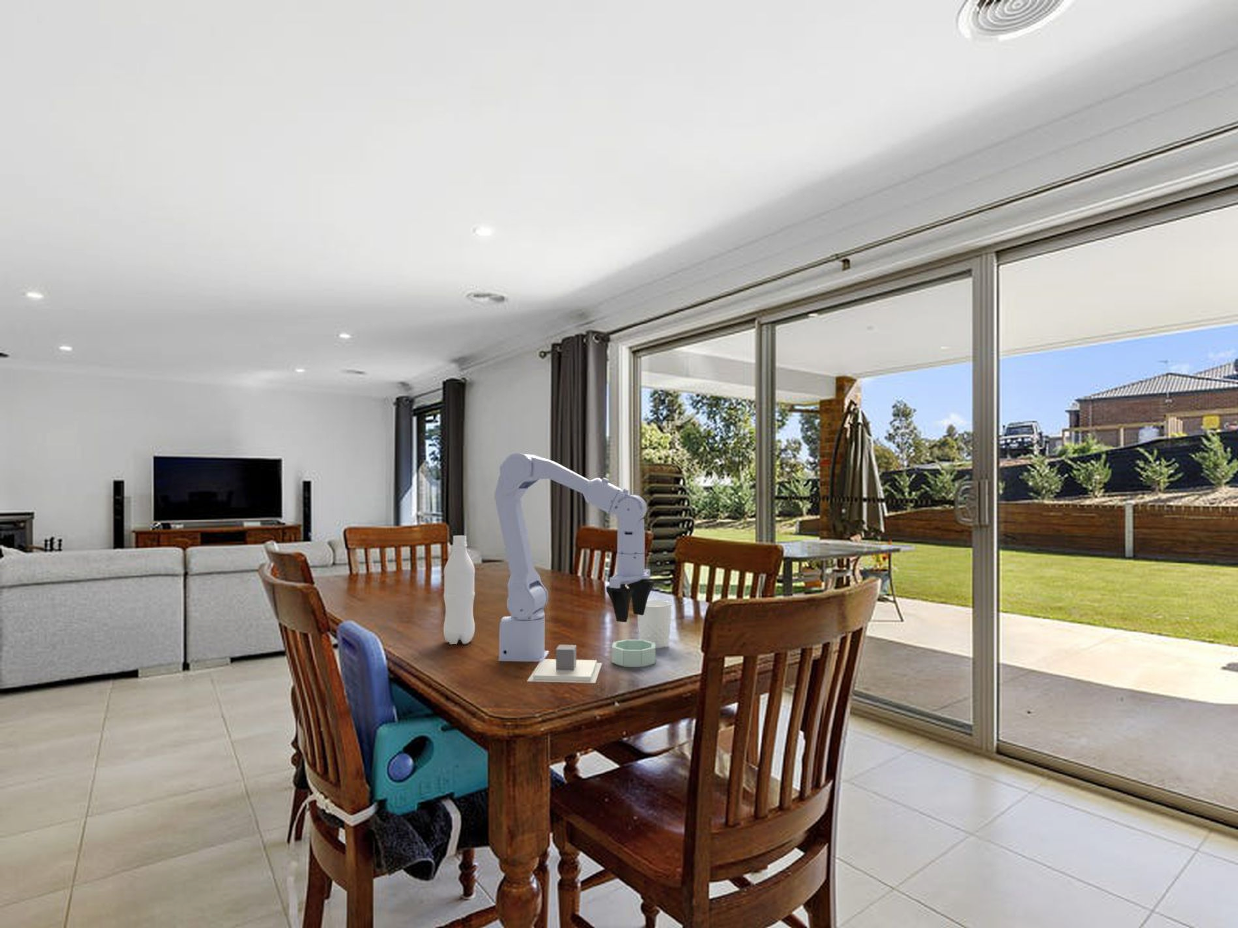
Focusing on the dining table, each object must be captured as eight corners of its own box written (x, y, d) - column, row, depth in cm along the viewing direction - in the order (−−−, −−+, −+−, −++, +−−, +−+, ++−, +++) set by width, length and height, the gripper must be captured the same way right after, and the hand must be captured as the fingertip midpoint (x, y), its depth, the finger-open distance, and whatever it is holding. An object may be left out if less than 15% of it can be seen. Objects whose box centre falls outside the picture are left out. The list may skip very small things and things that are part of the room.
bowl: (610, 669, 132) (610, 650, 132) (614, 657, 141) (614, 639, 141) (654, 670, 132) (654, 651, 132) (655, 658, 141) (655, 639, 141)
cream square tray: (526, 683, 123) (526, 680, 123) (540, 663, 136) (540, 661, 136) (595, 685, 122) (595, 682, 122) (602, 665, 135) (602, 662, 135)
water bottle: (470, 646, 150) (471, 537, 150) (439, 646, 150) (440, 537, 150) (477, 638, 157) (478, 534, 157) (448, 638, 157) (448, 534, 158)
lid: (533, 679, 124) (533, 654, 124) (544, 662, 135) (544, 639, 135) (590, 680, 123) (590, 655, 123) (596, 664, 134) (596, 640, 134)
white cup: (669, 651, 145) (669, 606, 146) (634, 649, 147) (634, 605, 147) (673, 642, 153) (673, 600, 153) (640, 641, 155) (640, 599, 155)
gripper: (631, 557, 127) (631, 627, 127) (663, 550, 140) (662, 613, 140) (600, 555, 131) (600, 622, 131) (634, 548, 144) (633, 609, 143)
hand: (630, 617), depth 136 cm, fingers open, 7 cm apart
